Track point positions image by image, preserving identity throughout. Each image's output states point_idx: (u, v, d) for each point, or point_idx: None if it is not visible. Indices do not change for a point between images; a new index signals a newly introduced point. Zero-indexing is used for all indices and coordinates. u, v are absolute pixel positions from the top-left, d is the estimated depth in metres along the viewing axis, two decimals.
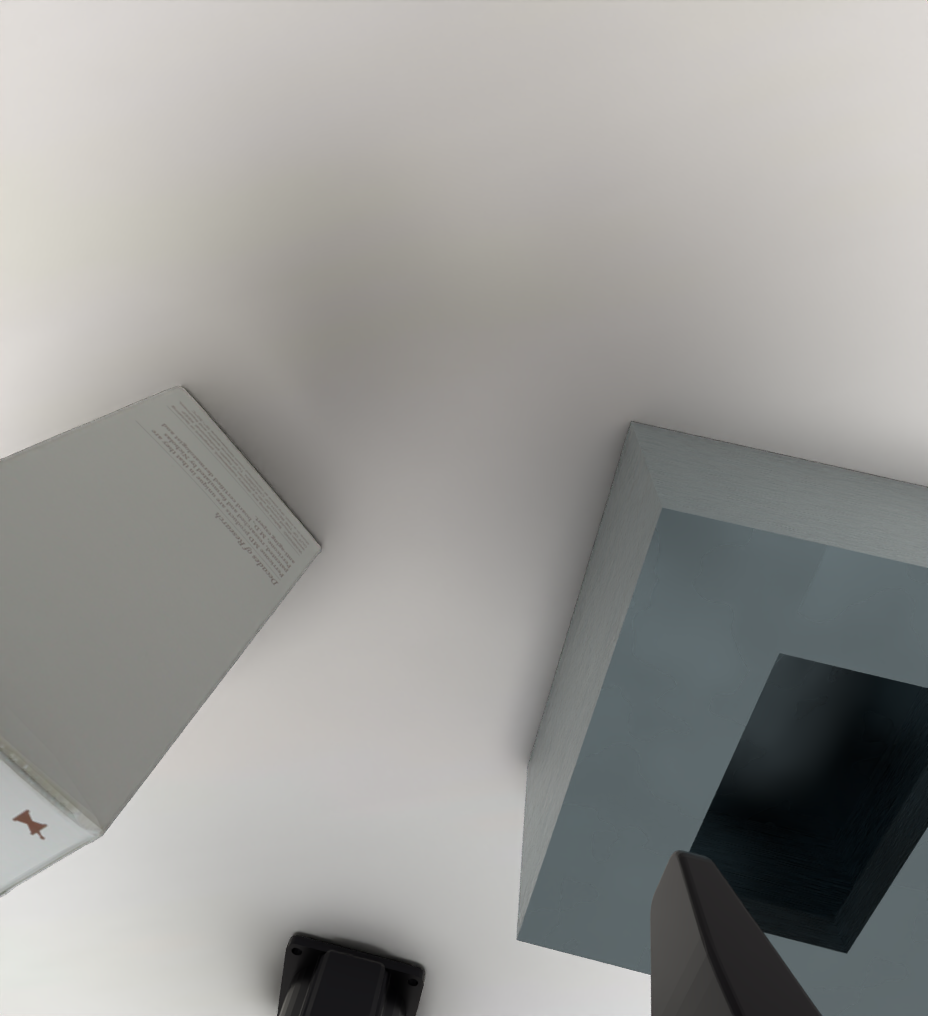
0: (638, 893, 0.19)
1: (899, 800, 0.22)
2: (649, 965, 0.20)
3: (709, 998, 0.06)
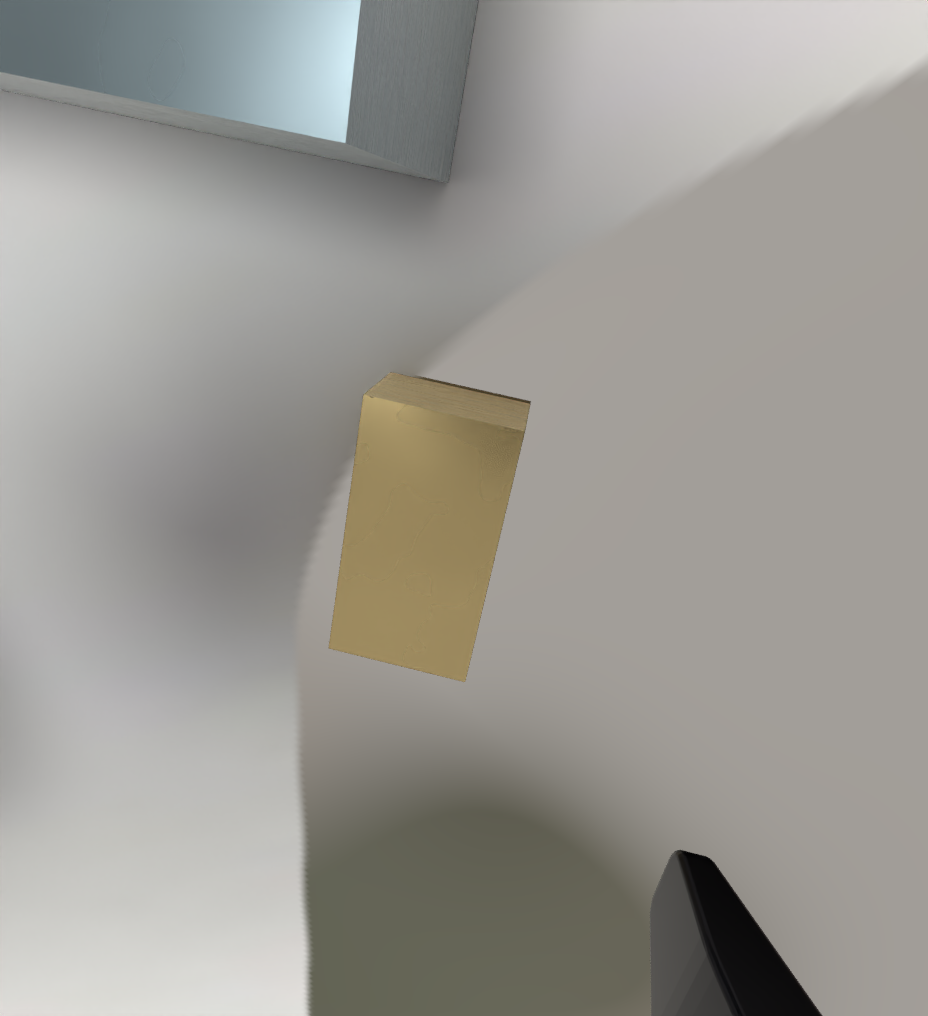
0: None
1: None
2: None
3: (709, 998, 0.06)
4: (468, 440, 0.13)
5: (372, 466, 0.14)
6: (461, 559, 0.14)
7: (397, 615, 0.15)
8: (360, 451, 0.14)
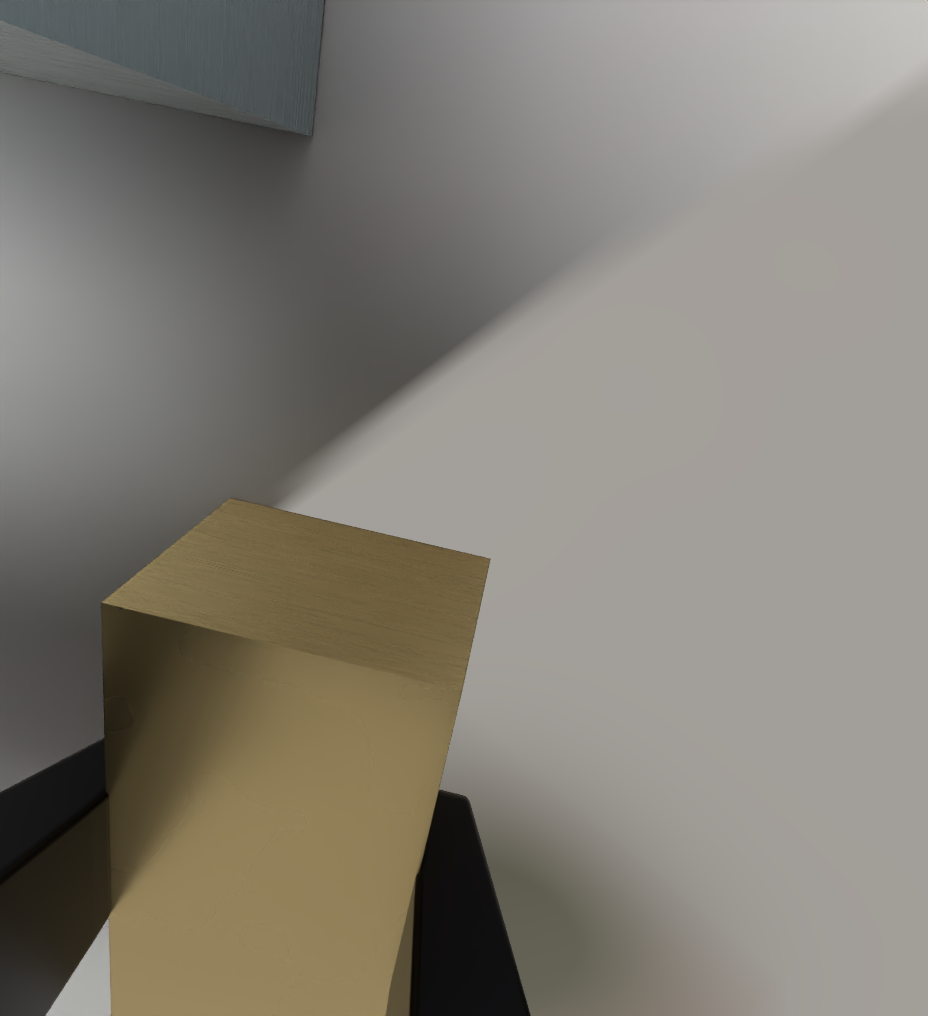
0: None
1: None
2: None
3: (409, 920, 0.06)
4: (339, 701, 0.06)
5: (143, 738, 0.06)
6: (343, 909, 0.07)
7: (229, 984, 0.08)
8: (114, 709, 0.06)
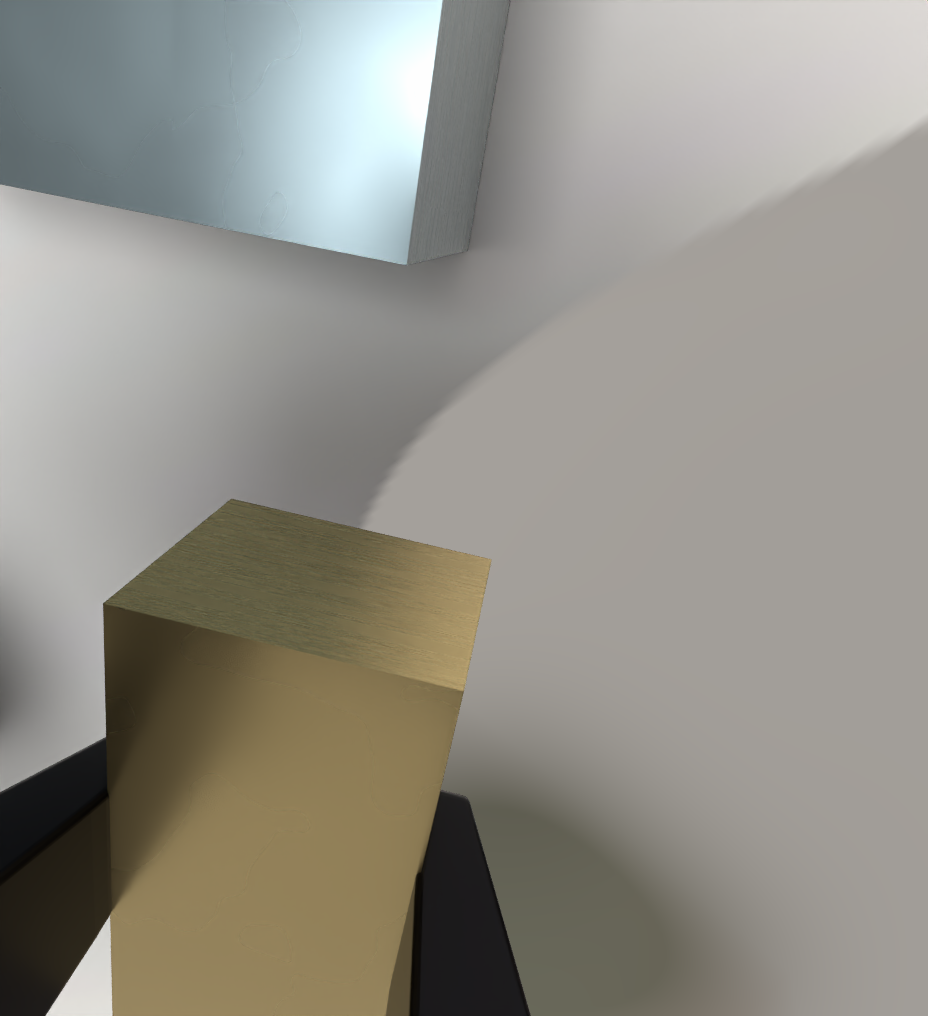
0: None
1: None
2: None
3: (409, 920, 0.06)
4: (340, 702, 0.06)
5: (144, 739, 0.06)
6: (344, 908, 0.07)
7: (231, 986, 0.08)
8: (115, 710, 0.06)
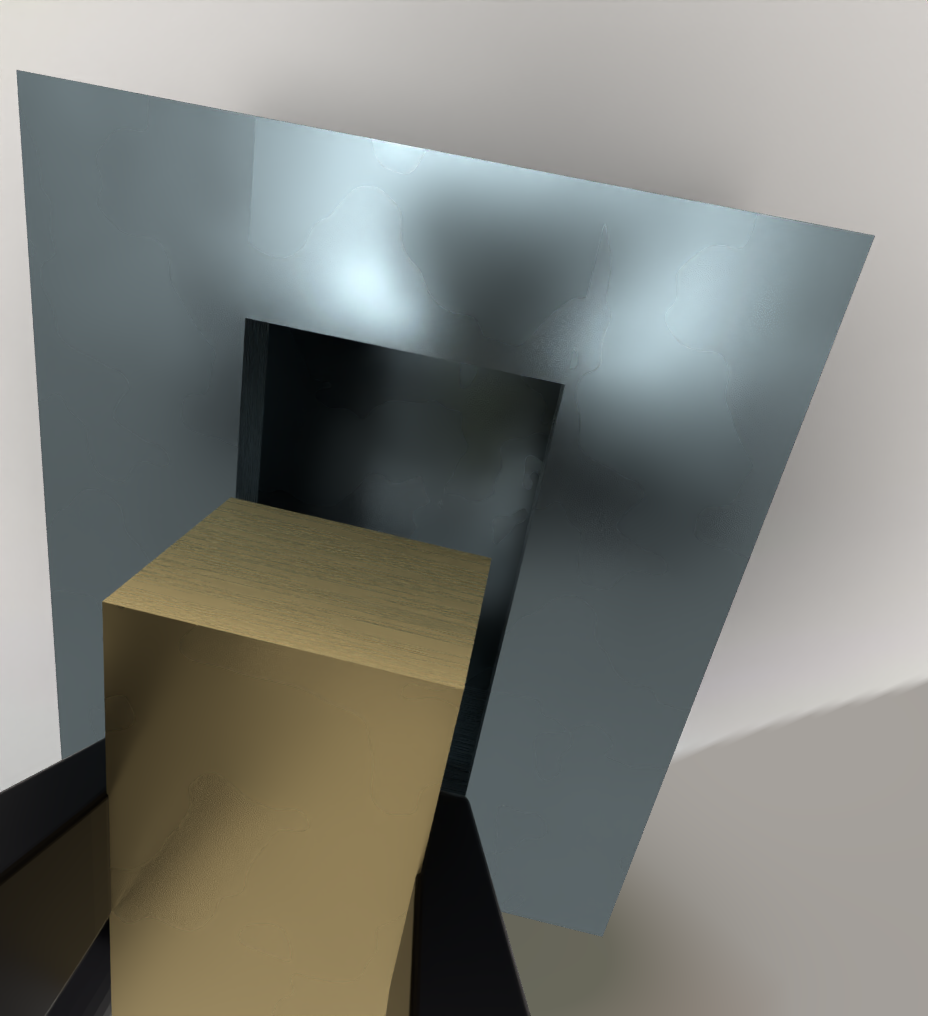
0: None
1: None
2: None
3: (409, 919, 0.06)
4: (340, 700, 0.06)
5: (144, 738, 0.06)
6: (344, 908, 0.07)
7: (229, 985, 0.08)
8: (115, 709, 0.06)
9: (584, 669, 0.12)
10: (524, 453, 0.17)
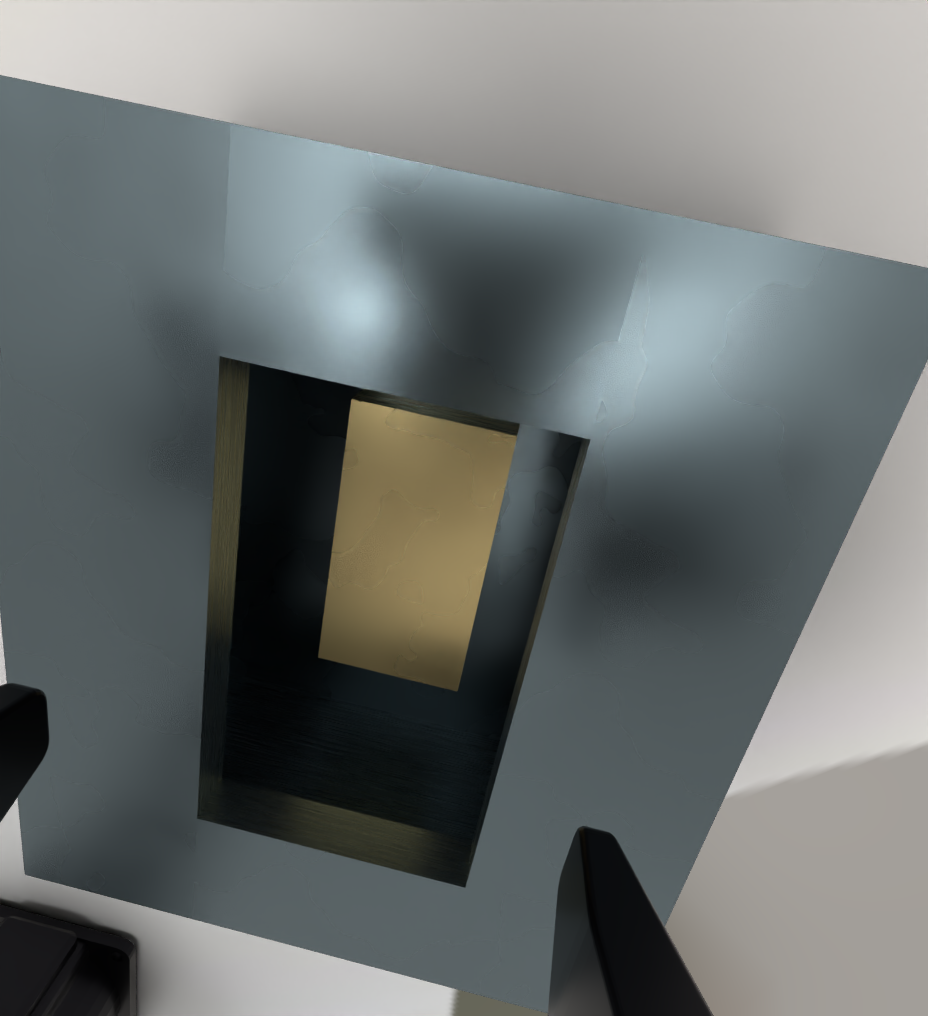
0: (156, 797, 0.12)
1: None
2: (208, 910, 0.13)
3: (588, 967, 0.06)
4: (459, 445, 0.13)
5: (361, 472, 0.13)
6: (452, 566, 0.14)
7: (387, 623, 0.15)
8: (348, 456, 0.13)
9: (604, 752, 0.11)
10: (535, 488, 0.16)
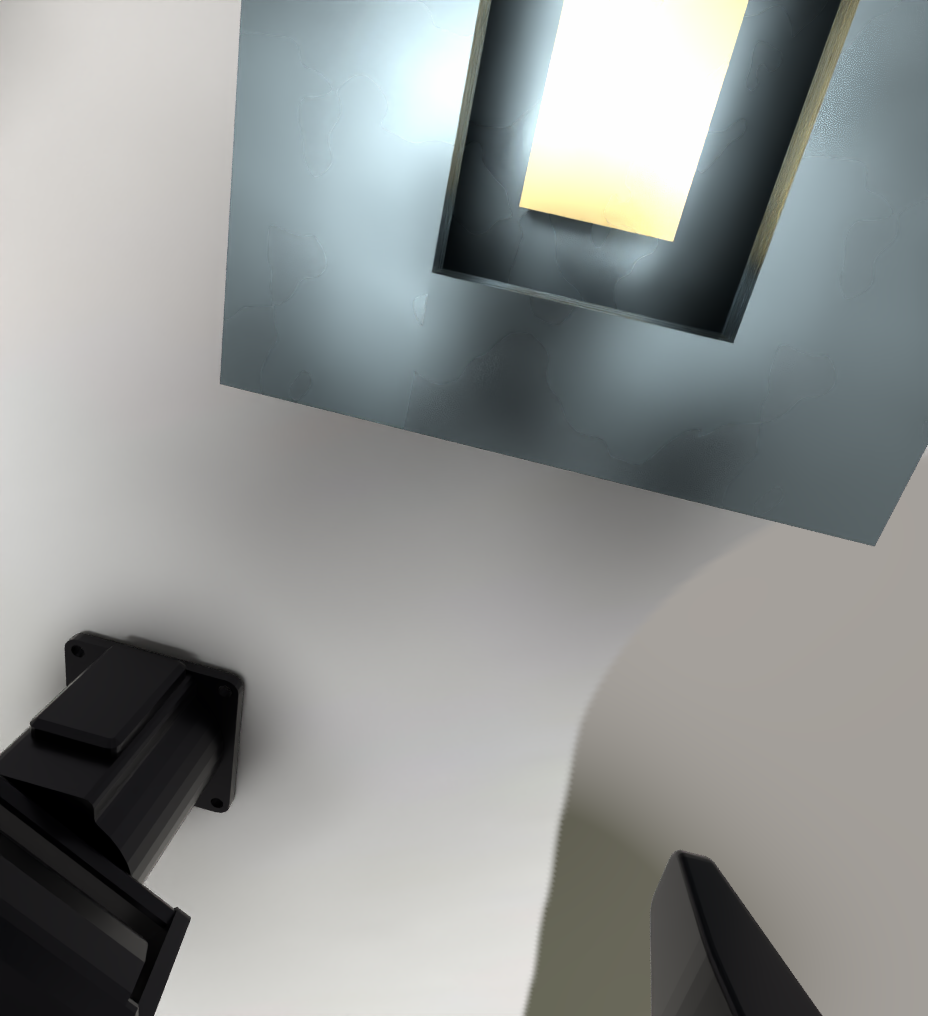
0: (388, 245, 0.11)
1: None
2: (424, 414, 0.12)
3: (709, 998, 0.06)
4: None
5: None
6: (690, 62, 0.13)
7: (604, 151, 0.13)
8: None
9: None
10: (754, 38, 0.14)
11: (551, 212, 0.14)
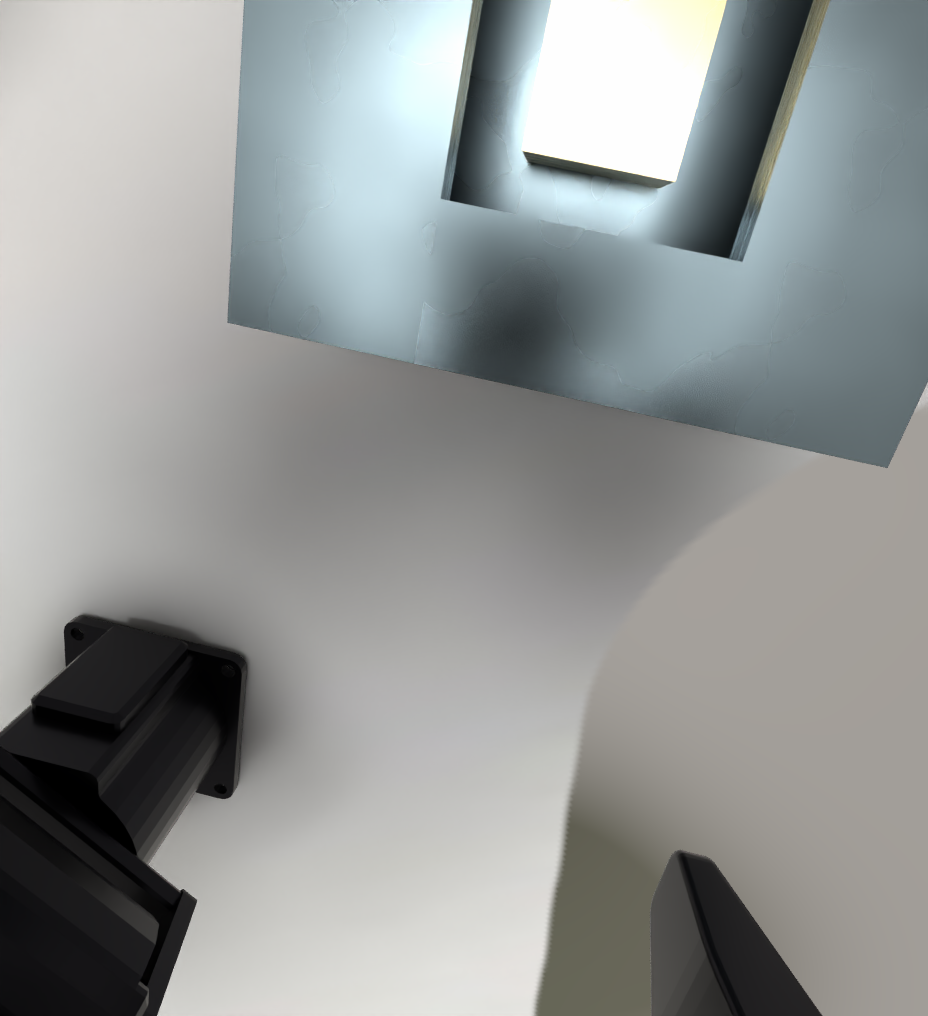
0: (396, 172, 0.11)
1: None
2: (434, 347, 0.12)
3: (709, 998, 0.06)
4: None
5: None
6: None
7: (606, 91, 0.14)
8: None
9: None
10: None
11: (554, 155, 0.14)
